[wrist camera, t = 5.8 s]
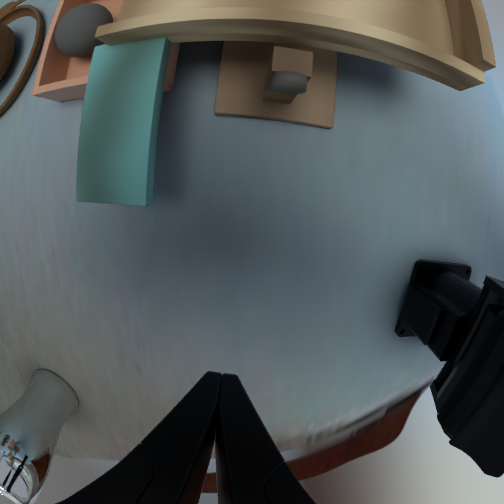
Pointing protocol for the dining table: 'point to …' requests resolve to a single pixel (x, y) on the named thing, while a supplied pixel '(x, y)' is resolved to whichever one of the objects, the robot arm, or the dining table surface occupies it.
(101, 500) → the robot arm
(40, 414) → the beer glass
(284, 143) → the dining table surface
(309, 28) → the lever
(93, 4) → the ball
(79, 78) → the dish
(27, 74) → the place setting
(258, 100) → the lever stand
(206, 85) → the dining table surface
